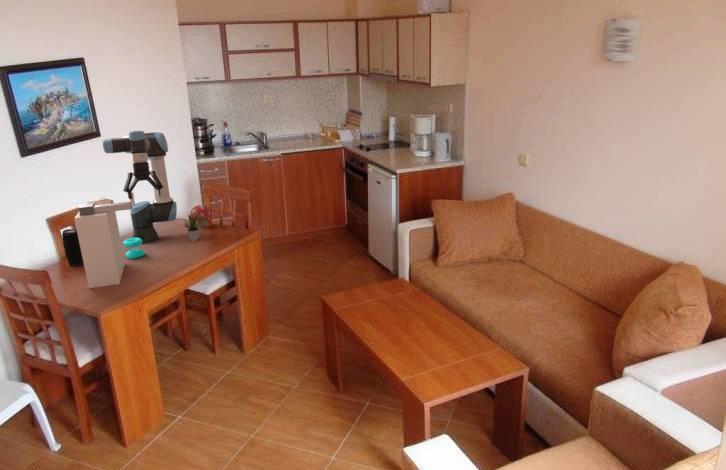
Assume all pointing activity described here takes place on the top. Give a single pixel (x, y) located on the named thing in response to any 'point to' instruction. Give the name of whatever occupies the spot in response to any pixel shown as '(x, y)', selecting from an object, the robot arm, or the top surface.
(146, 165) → the robot arm
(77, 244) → the portable speaker
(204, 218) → the decorative mushroom
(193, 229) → the house plant
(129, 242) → the donuts
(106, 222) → the tall cream pillar block
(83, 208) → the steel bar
